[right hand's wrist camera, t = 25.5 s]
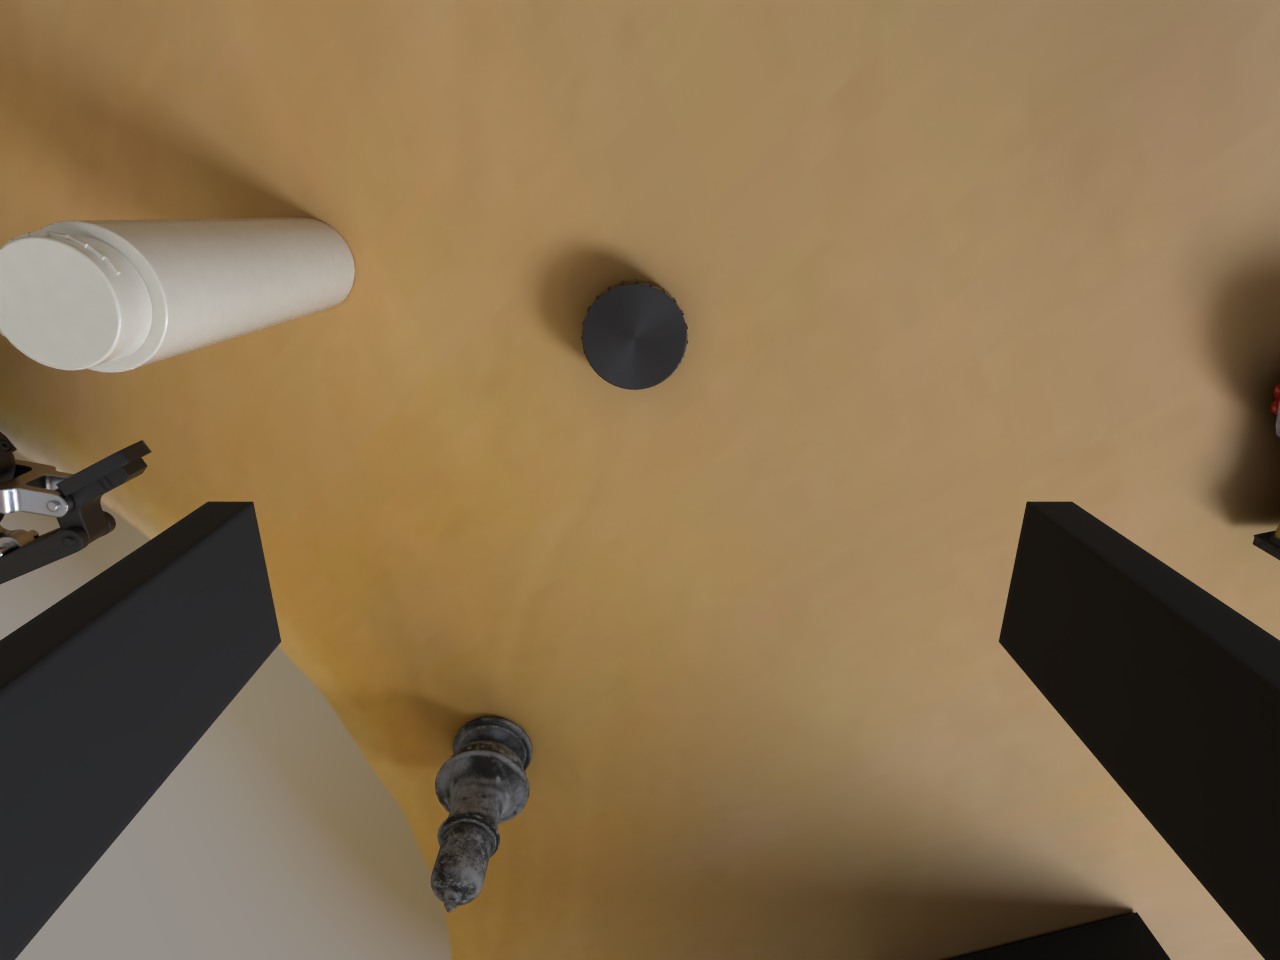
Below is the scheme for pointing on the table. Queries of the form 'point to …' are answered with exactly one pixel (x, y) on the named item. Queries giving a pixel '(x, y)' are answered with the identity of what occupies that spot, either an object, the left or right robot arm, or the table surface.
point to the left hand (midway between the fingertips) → (76, 373)
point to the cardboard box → (1085, 944)
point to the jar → (162, 286)
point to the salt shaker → (477, 803)
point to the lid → (634, 335)
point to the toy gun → (1276, 541)
